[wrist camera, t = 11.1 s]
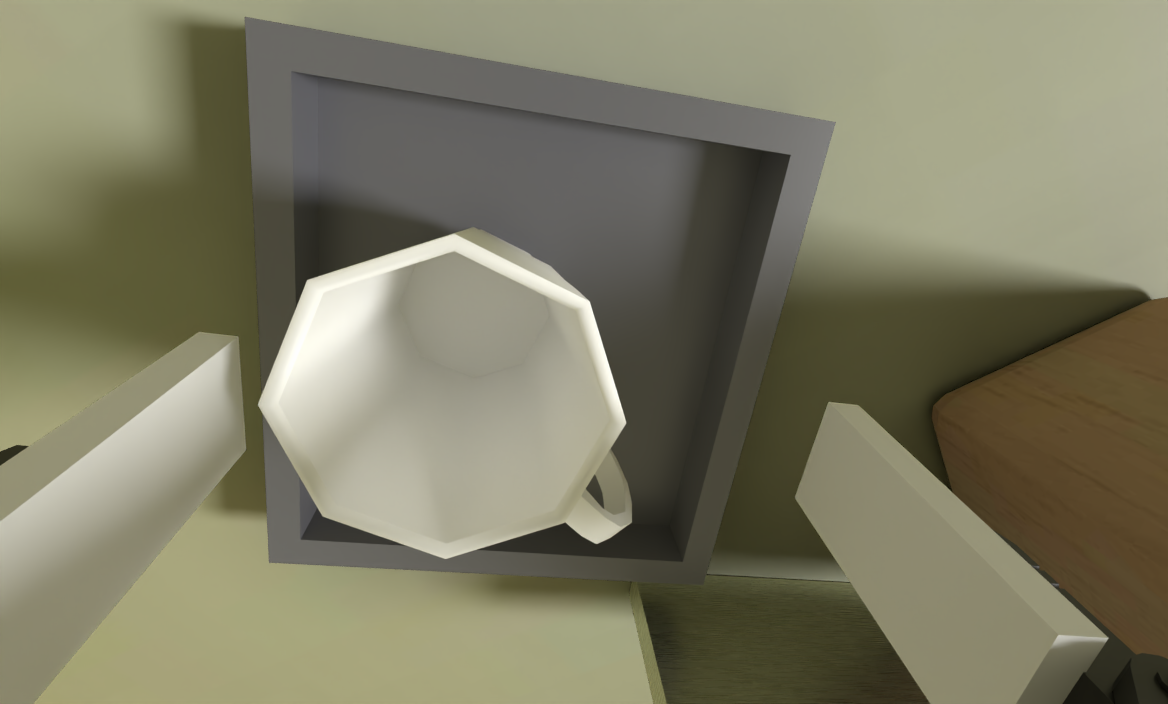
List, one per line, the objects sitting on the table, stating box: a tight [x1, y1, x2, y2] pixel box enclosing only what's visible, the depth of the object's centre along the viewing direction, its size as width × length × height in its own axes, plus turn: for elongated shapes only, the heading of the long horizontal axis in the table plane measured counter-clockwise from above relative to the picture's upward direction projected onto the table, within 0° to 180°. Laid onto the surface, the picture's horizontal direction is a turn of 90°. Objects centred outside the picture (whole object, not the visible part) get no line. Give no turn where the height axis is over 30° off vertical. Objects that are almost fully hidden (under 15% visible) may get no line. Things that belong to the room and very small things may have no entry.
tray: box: [245, 17, 836, 585], centre depth 19 cm, size 16×15×3 cm
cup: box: [258, 227, 632, 559], centre depth 16 cm, size 7×10×8 cm
